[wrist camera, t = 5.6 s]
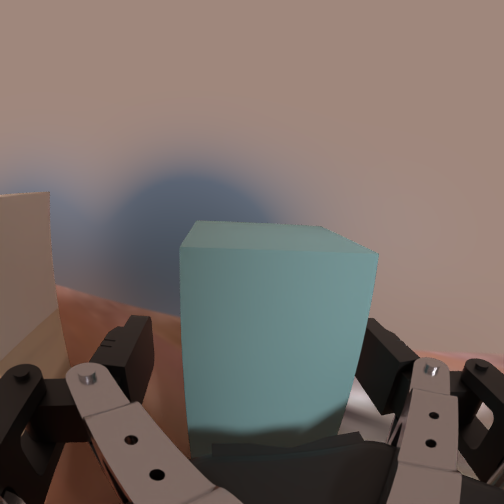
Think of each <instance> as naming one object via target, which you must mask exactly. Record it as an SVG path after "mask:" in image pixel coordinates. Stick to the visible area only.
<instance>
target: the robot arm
mask: <svg viewBox="0 0 504 504" xmlns="http://www.w3.org/2000/svg"><path fill="white" fill-rule="evenodd" d="M153 366H154V344H153V333H152V321H151V318H150V316H135V315H131V316H130V318H129V319H128V321H127V322H126V324H125V326H124V327H119V326H118V327H116V328H114V329H113V330H111V331H110V332H108V334H107V335H106V337H105V338H104V340H103V341H102V343H101V344H100V346H99V347H98V349H97V350H96V352H95V353H94V355H93V357H92V358H91V360H90V361H89V363H82V364H78V365H76V366H74V367H72V368H70V369H69V370H68V372H67V373H66V378H60V379H44V378H43V375H42V372H41V370H40V368H38V367H37V366H35V365H32V364H20V365H16V366H14V367H12V368H10V369H9V370H7V371H6V372H5V374H4V375H3V376H2V377H1V379H0V504H44V502H45V498H46V495H47V492H48V489H49V486H50V483H51V480H52V477H53V475H54V472H55V469H56V466H57V463H58V461H59V458H60V455H61V453H62V450H63V448H64V445H65V443H69V442H88V444H89V446H90V448H91V450H92V452H93V454H94V456H95V458H96V459H97V461H98V463H99V465H100V467H101V469H102V470H103V472H104V474H105V476H106V477H107V479H108V481H109V483H110V484H111V486H112V488H113V490H114V491H115V493H116V495H117V497H118V498H119V500H120V502H121V503H122V504H504V374H503V373H501V372H500V371H499V370H498V369H497V368H496V367H494V366H493V365H492V364H491V363H489V362H487V361H485V360H482V359H469V360H467V361H466V363H465V366H464V368H463V371H449V368H448V366H447V365H446V364H445V363H443V362H442V361H440V360H437V359H434V358H427V357H425V358H420V357H419V356H418V355H417V354H415V353H414V352H413V351H412V350H411V349H410V348H409V347H408V346H406V345H405V343H404V342H403V341H400V339H399V338H398V337H397V336H396V335H395V334H394V333H392V332H390V331H388V330H386V329H385V328H384V327H382V326H381V325H380V324H379V323H378V322H377V321H376V320H375V319H374V318H368V321H367V326H366V331H365V335H364V340H363V344H362V348H361V353H360V357H359V361H358V365H357V369H356V373H355V377H356V378H357V380H358V381H359V383H360V384H361V386H362V387H363V389H364V390H365V392H366V393H367V395H368V396H369V398H370V399H371V401H372V402H373V404H374V405H375V407H376V408H377V410H378V411H379V413H380V414H381V415H386V414H390V413H395V416H394V418H393V421H392V424H391V427H390V430H389V434H388V437H387V440H386V443H381V442H375V441H364V440H363V439H362V437H361V435H360V433H359V432H353V433H347V434H341V435H335V436H328V437H324V438H321V439H318V440H315V441H312V442H309V443H306V444H303V445H300V446H296V447H292V448H286V447H276V446H268V445H260V444H253V443H212V454H207V455H202V456H198V457H195V458H192V459H189V460H188V459H187V458H186V457H185V456H184V455H183V454H182V453H181V451H180V450H179V449H178V448H177V447H176V446H175V445H174V444H173V443H172V441H171V440H170V439H169V438H168V437H167V436H166V435H165V433H164V432H163V431H162V430H161V429H160V428H159V426H158V425H157V424H156V423H155V421H154V420H153V419H152V418H151V417H150V415H149V414H148V413H147V412H146V410H145V409H144V408H143V406H142V402H143V399H144V396H145V392H146V389H147V386H148V383H149V380H150V376H151V373H152V370H153ZM482 402H484V403H485V405H486V406H487V407H488V408H489V409H490V410H491V411H492V412H493V416H494V421H493V424H492V426H491V428H490V429H489V431H488V430H487V429H486V427H485V426H484V425H483V424H482V423H481V422H480V420H479V419H478V418H477V417H476V414H477V412H478V410H479V408H480V406H481V404H482ZM24 429H25V431H24ZM23 431H24V433H23ZM22 433H23V434H22ZM21 435H22V436H21ZM458 450H459V451H460V453H461V454H462V455H463V457H464V458H465V460H466V461H467V463H468V464H469V465H470V467H471V468H472V470H473V471H474V473H475V474H476V475H477V477H478V478H479V480H480V481H478V480H475V479H473V478H470V477H467V476H464V475H462V474H461V473H460V472H459V471H458V470H457V455H458Z"/></svg>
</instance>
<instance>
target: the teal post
mask: <svg viewBox="0 0 504 504" xmlns="http://www.w3.org/2000/svg"><path fill="white" fill-rule="evenodd" d="M378 257H379V254H378V253H376V252H374V251H372V250H370V249H368V248H366V247H364V246H362V245H359V244H357V243H355V242H353V241H351V240H349V239H347V238H345V237H343V236H341V235H339V234H336V233H334V232H332V231H330V230H328V229H325V228H323V227H321V226H307V225H288V224H268V223H246V222H220V221H196V222H195V224H194V226H193V227H192V229H191V230H190V232H189V233H188V235H187V236H186V238H185V239H184V241H183V243H182V244H181V246H180V313H181V340H182V359H183V376H184V390H185V402H186V414H187V424H188V434H189V443H190V452H191V459H192V458H195V457H198V456H202V455H207V454H212V443H253V444H260V445H268V446H276V447H286V448H292V447H296V446H300V445H303V444H306V443H309V442H312V441H315V440H318V439H321V438H324V437H328V436H335V435H337V433H338V430H339V427H340V424H341V421H342V418H343V415H344V412H345V408H346V405H347V402H348V398H349V395H350V391H351V388H352V384H353V380H354V376H355V373H356V369H357V365H358V361H359V357H360V353H361V348H362V344H363V340H364V335H365V331H366V326H367V321H368V316H369V311H370V306H371V300H372V295H373V289H374V283H375V277H376V270H377V263H378Z"/></svg>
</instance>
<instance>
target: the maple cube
mask: <svg viewBox="0 0 504 504" xmlns="http://www.w3.org/2000/svg"><path fill="white" fill-rule="evenodd" d="M20 364H32V365H35V366H37V367H38V368H40V370H41V372H42V375H43V378H44V379H60V378H66V373H67V372H68V370H69V369H70V368H71V366H70V362H69V358H68V354H67V349H66V345H65V340H64V335H63V330H62V325H61V320H60V314H59V308H57V309H56V310H55V311H54V312H53V313H52V314H50V315H49V316H48V317H47V318H46V319H45V320H44V321H43V322H41V323H40V324H39V325H38V326H37V327H36V328H35V329H34V330H33V331H32V332H30V333H29V334H28V335H27V336H26V337H25V338H24V339H23V340H22V341H21V342H20V343H19V344H18V345H17V346H15V347H14V348H13V349H12V350H11V351H10V352H9V353H8V354H7V355H6V356H5V357H4V358H3V359H2V360H1V361H0V379H1V377H2V376H3V375H4V374H5V372H6V371H7V370H9V369H10V368H12V367H14V366H16V365H20ZM24 431H25V429H24ZM24 431H23V433H24ZM23 433H22V434H23ZM21 436H22V435H21Z"/></svg>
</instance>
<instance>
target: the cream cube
mask: <svg viewBox="0 0 504 504" xmlns="http://www.w3.org/2000/svg"><path fill="white" fill-rule="evenodd" d="M57 308H58V301H57V294H56V287H55V279H54V270H53V261H52V248H51V233H50V192H35V193H19V194H5V195H0V361H1V360H2V359H3V358H4V357H5V356H6V355H7V354H8V353H9V352H10V351H11V350H12V349H13V348H14V347H15V346H17V345H18V344H19V343H20V342H21V341H22V340H23V339H24V338H25V337H26V336H27V335H28V334H29V333H30V332H32V331H33V330H34V329H35V328H36V327H37V326H38V325H39V324H40V323H41V322H43V321H44V320H45V319H46V318H47V317H48V316H49V315H50V314H52V313H53V312H54V311H55V310H56V309H57Z"/></svg>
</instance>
